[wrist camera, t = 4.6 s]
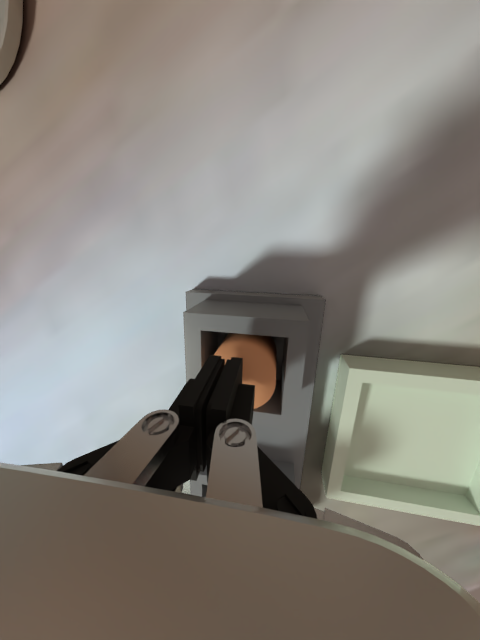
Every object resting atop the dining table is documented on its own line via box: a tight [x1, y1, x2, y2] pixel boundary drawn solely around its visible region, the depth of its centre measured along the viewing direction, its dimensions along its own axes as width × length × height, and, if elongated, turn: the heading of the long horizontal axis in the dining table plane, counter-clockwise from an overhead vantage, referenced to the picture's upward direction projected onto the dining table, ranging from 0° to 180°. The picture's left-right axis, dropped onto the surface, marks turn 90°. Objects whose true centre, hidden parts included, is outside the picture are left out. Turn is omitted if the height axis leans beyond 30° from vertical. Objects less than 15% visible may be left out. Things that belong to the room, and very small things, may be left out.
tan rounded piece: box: [214, 333, 277, 409], centre depth 15 cm, size 4×4×4 cm
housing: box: [183, 289, 326, 497], centre depth 18 cm, size 23×10×6 cm, turn 178°
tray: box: [321, 354, 480, 526], centre depth 17 cm, size 12×12×2 cm
